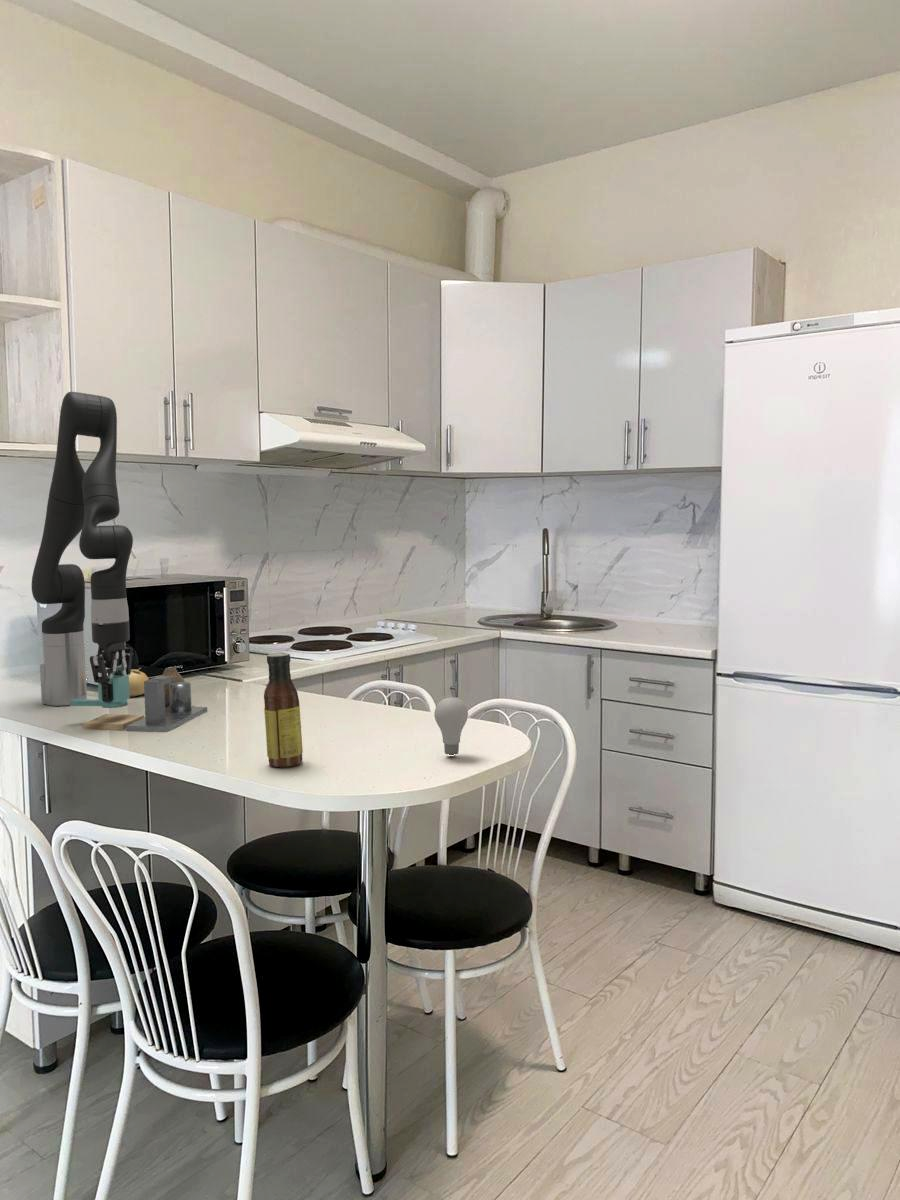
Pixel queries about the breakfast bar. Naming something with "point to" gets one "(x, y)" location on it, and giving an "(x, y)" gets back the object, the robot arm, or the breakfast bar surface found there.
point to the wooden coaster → (112, 722)
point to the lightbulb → (451, 722)
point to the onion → (136, 682)
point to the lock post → (155, 706)
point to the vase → (175, 678)
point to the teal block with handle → (119, 694)
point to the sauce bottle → (282, 714)
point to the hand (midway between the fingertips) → (114, 698)
